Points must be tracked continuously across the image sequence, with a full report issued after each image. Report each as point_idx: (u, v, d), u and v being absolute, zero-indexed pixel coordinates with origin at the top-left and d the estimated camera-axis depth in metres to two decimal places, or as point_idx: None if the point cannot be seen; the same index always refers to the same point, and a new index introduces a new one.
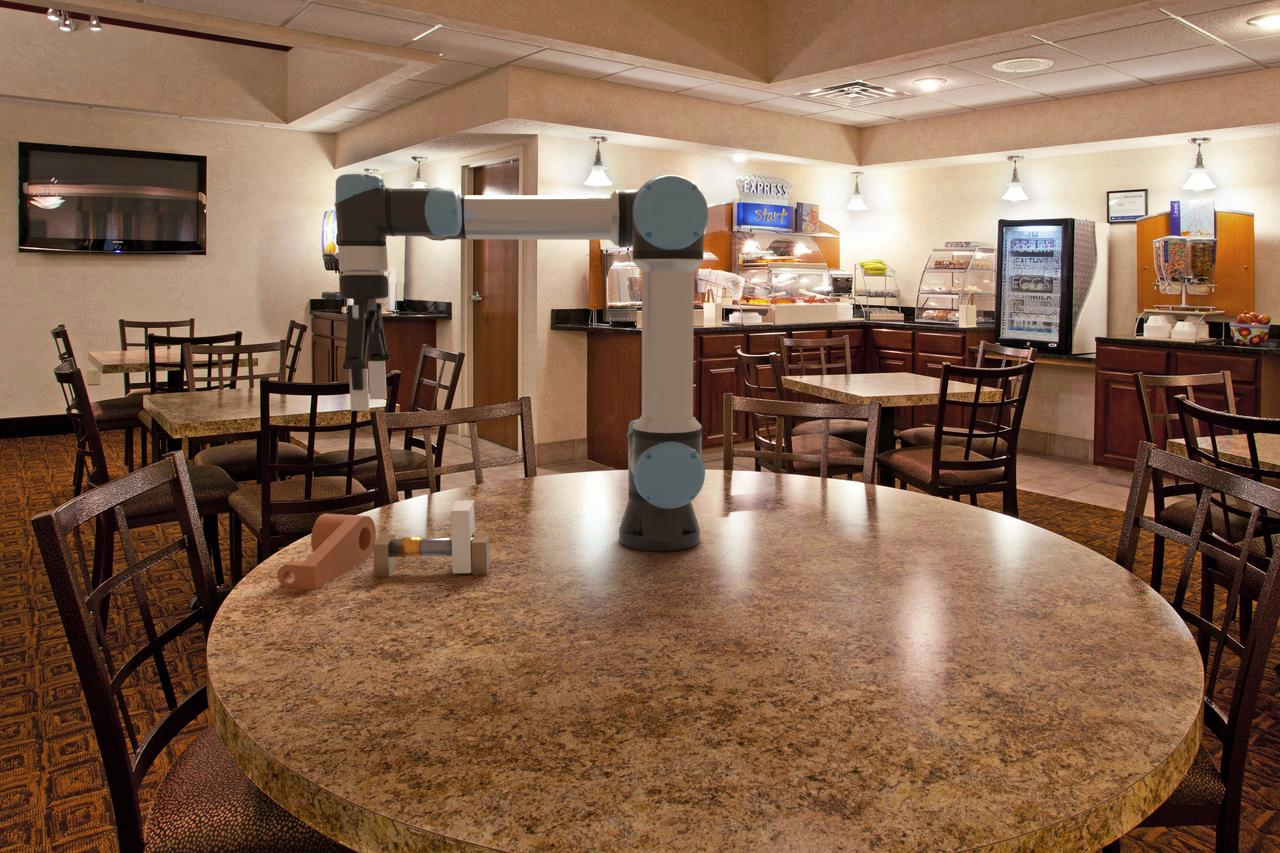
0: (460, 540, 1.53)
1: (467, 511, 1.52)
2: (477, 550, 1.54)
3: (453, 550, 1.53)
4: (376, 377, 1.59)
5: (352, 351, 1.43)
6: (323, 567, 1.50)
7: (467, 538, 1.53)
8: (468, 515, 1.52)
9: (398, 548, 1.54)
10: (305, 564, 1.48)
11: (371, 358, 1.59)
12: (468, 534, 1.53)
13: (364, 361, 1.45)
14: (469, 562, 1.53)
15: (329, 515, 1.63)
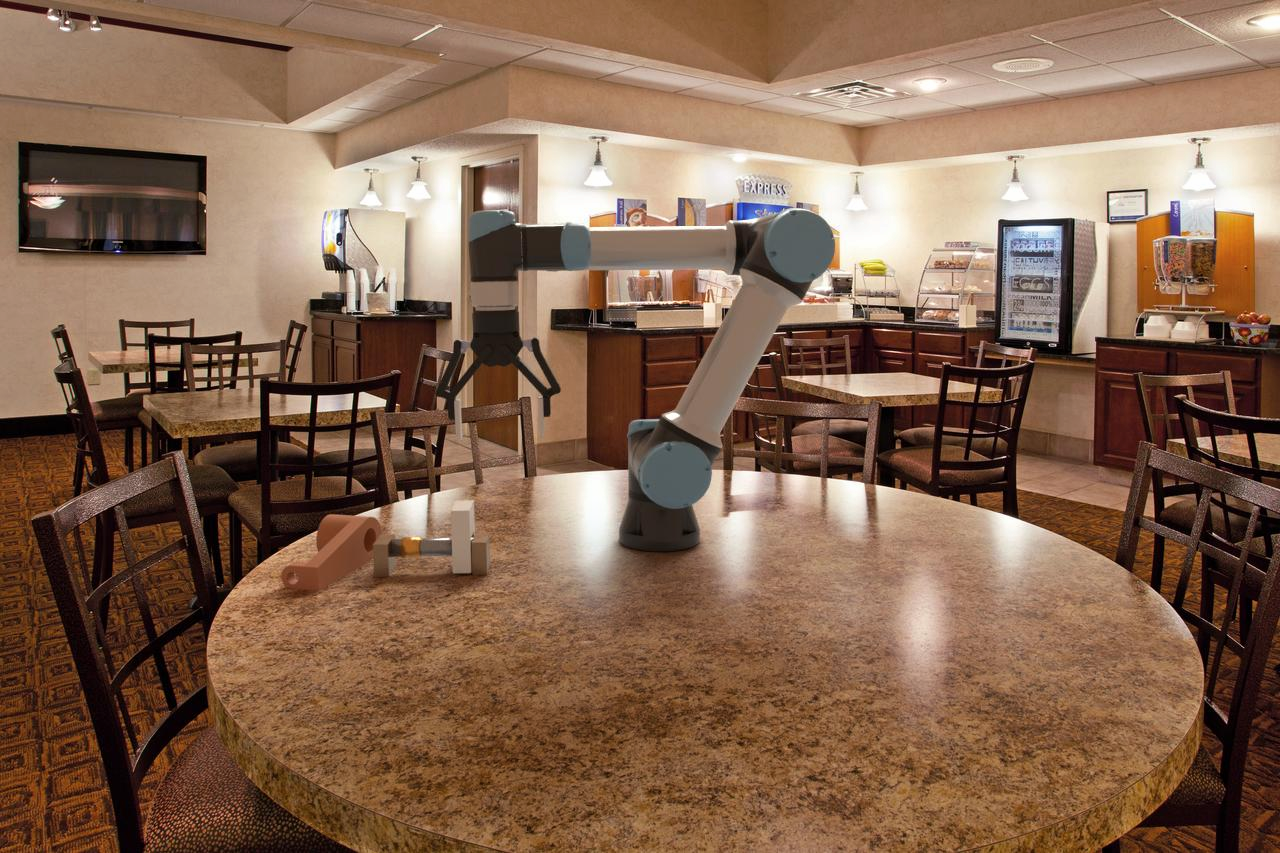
0: (460, 540, 1.53)
1: (467, 511, 1.52)
2: (477, 550, 1.54)
3: (453, 550, 1.53)
4: None
5: None
6: (327, 569, 1.49)
7: (467, 538, 1.53)
8: (468, 515, 1.52)
9: (398, 548, 1.54)
10: (308, 565, 1.47)
11: None
12: (468, 534, 1.53)
13: (451, 393, 1.51)
14: (469, 562, 1.53)
15: (335, 516, 1.62)
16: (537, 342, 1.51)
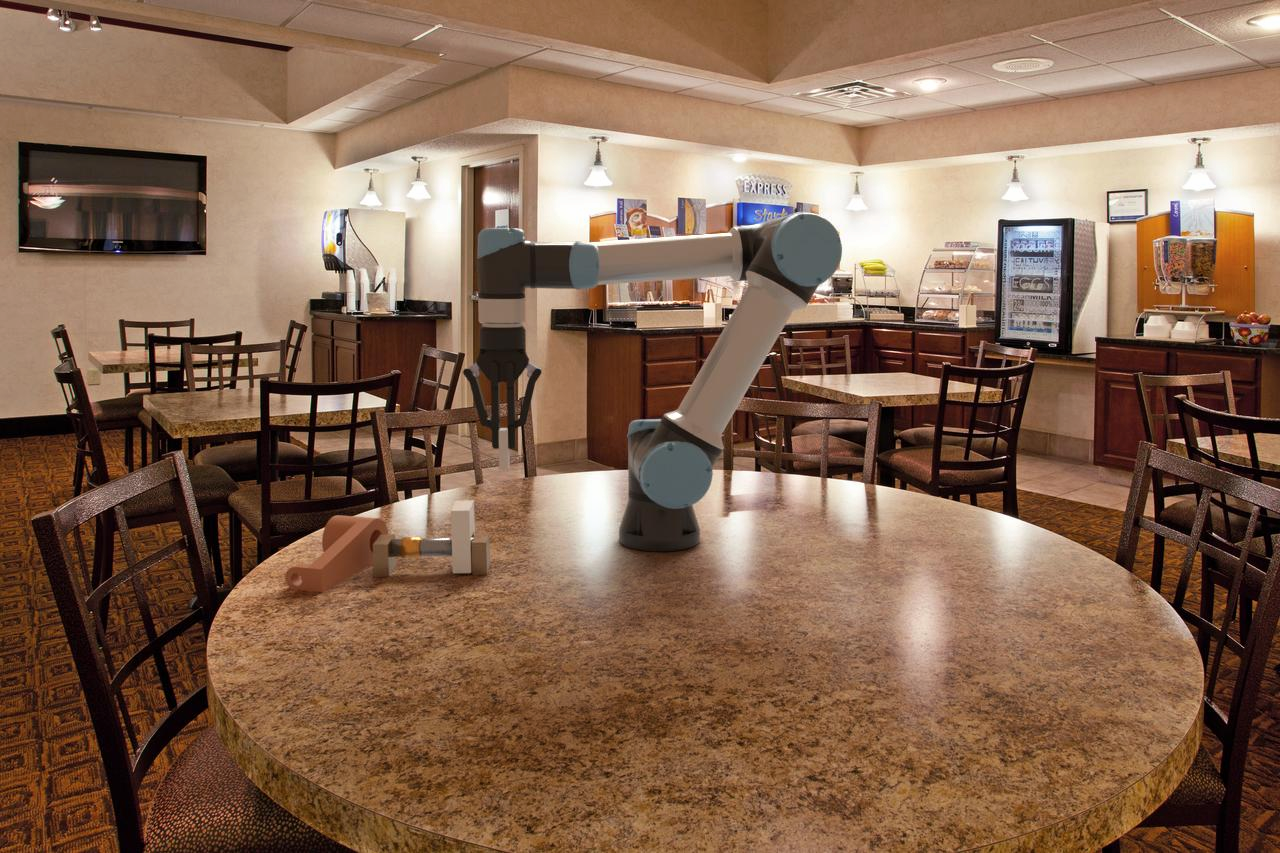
0: (460, 540, 1.53)
1: (467, 511, 1.52)
2: (477, 550, 1.54)
3: (453, 550, 1.53)
4: None
5: None
6: (331, 570, 1.48)
7: (467, 538, 1.53)
8: (468, 515, 1.52)
9: (398, 548, 1.54)
10: (312, 566, 1.46)
11: None
12: (468, 534, 1.53)
13: (493, 422, 1.52)
14: (469, 562, 1.53)
15: (341, 517, 1.61)
16: (539, 374, 1.52)
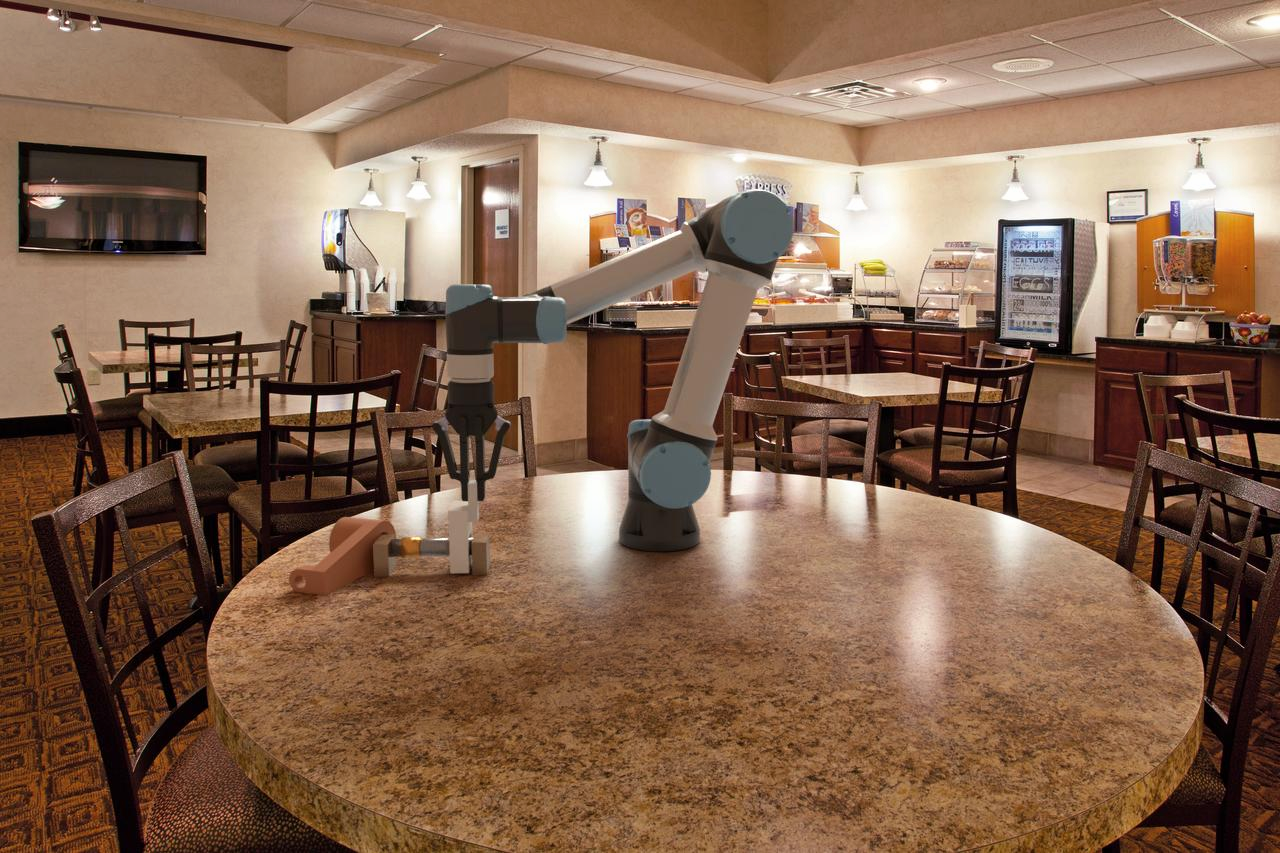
0: (458, 540, 1.53)
1: (465, 511, 1.52)
2: (477, 550, 1.54)
3: (451, 550, 1.53)
4: None
5: None
6: (334, 573, 1.47)
7: (465, 538, 1.53)
8: (466, 515, 1.52)
9: (398, 548, 1.54)
10: (316, 569, 1.45)
11: None
12: (466, 534, 1.53)
13: (462, 476, 1.53)
14: (467, 562, 1.53)
15: (348, 519, 1.60)
16: (507, 428, 1.53)
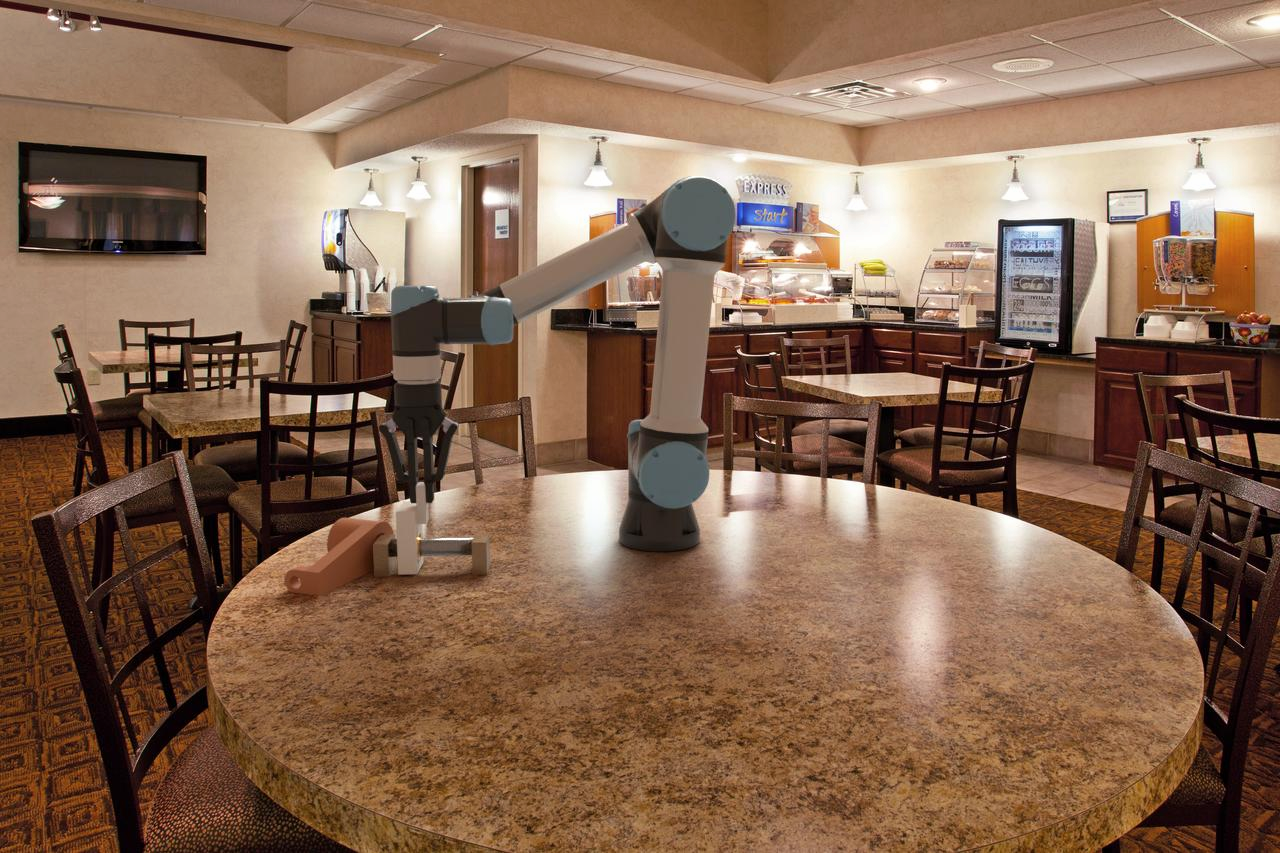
0: (405, 541, 1.52)
1: (412, 512, 1.51)
2: (477, 550, 1.54)
3: (398, 551, 1.52)
4: None
5: None
6: (330, 574, 1.46)
7: (412, 539, 1.52)
8: (413, 516, 1.52)
9: None
10: (311, 569, 1.45)
11: None
12: (413, 535, 1.52)
13: (410, 478, 1.53)
14: (415, 563, 1.53)
15: (347, 519, 1.60)
16: (455, 429, 1.52)
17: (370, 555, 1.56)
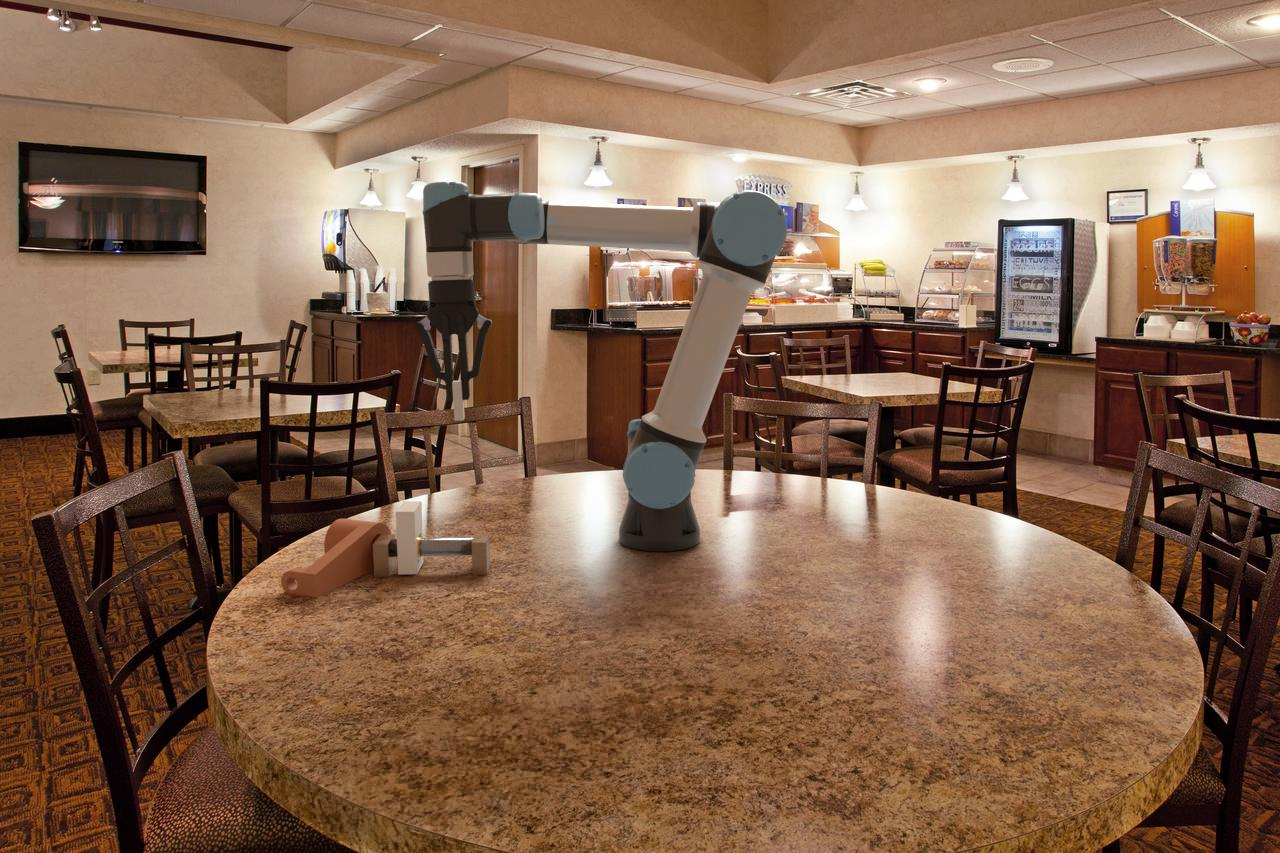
0: (405, 541, 1.52)
1: (412, 512, 1.51)
2: (477, 550, 1.54)
3: (398, 551, 1.52)
4: None
5: None
6: (326, 575, 1.46)
7: (412, 539, 1.52)
8: (413, 516, 1.52)
9: None
10: (307, 571, 1.44)
11: None
12: (413, 535, 1.52)
13: (447, 375, 1.56)
14: (415, 563, 1.53)
15: (344, 520, 1.59)
16: (489, 325, 1.55)
17: (367, 556, 1.55)
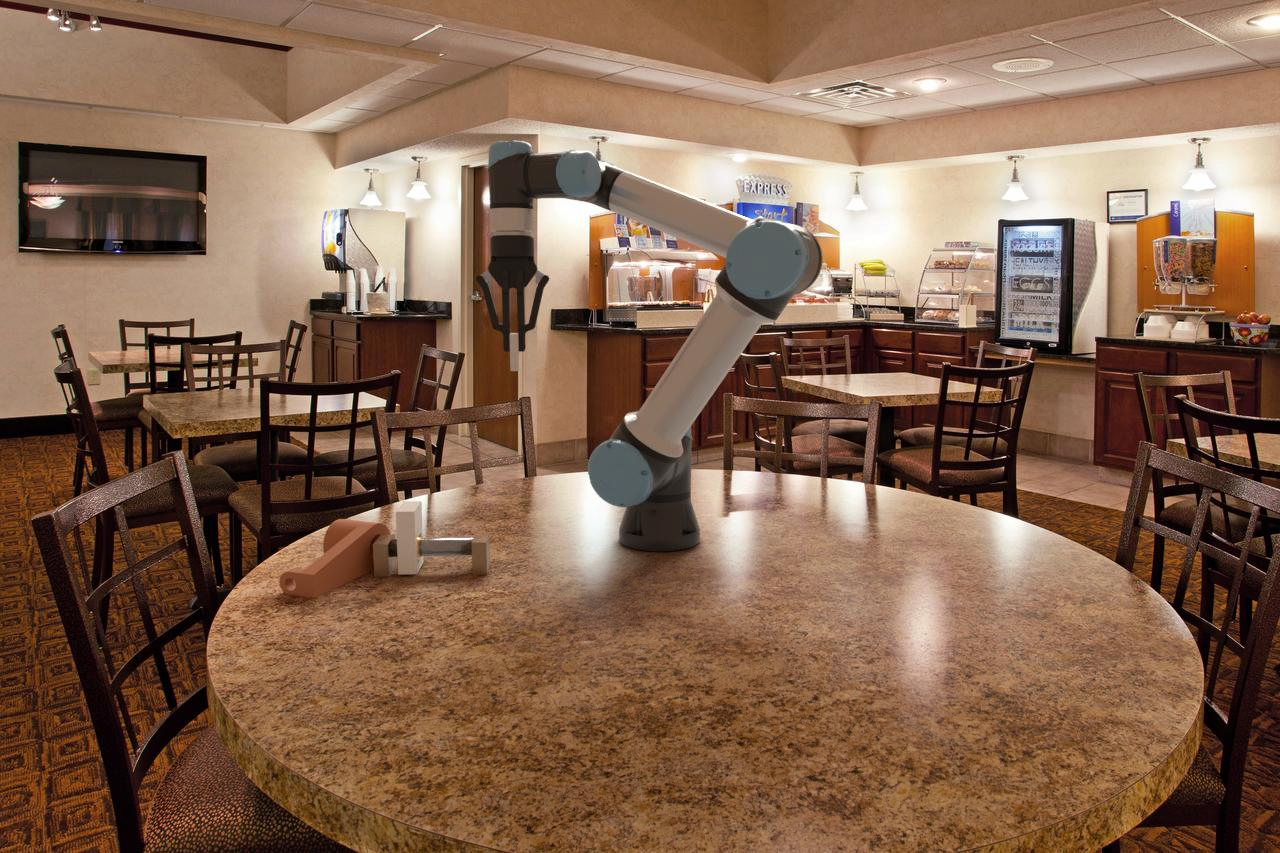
0: (405, 541, 1.52)
1: (412, 512, 1.51)
2: (477, 550, 1.54)
3: (398, 551, 1.52)
4: None
5: None
6: (325, 576, 1.45)
7: (412, 539, 1.52)
8: (413, 516, 1.52)
9: None
10: (306, 571, 1.44)
11: None
12: (413, 535, 1.52)
13: (504, 326, 1.63)
14: (415, 563, 1.53)
15: (343, 521, 1.59)
16: (546, 280, 1.62)
17: (366, 557, 1.55)
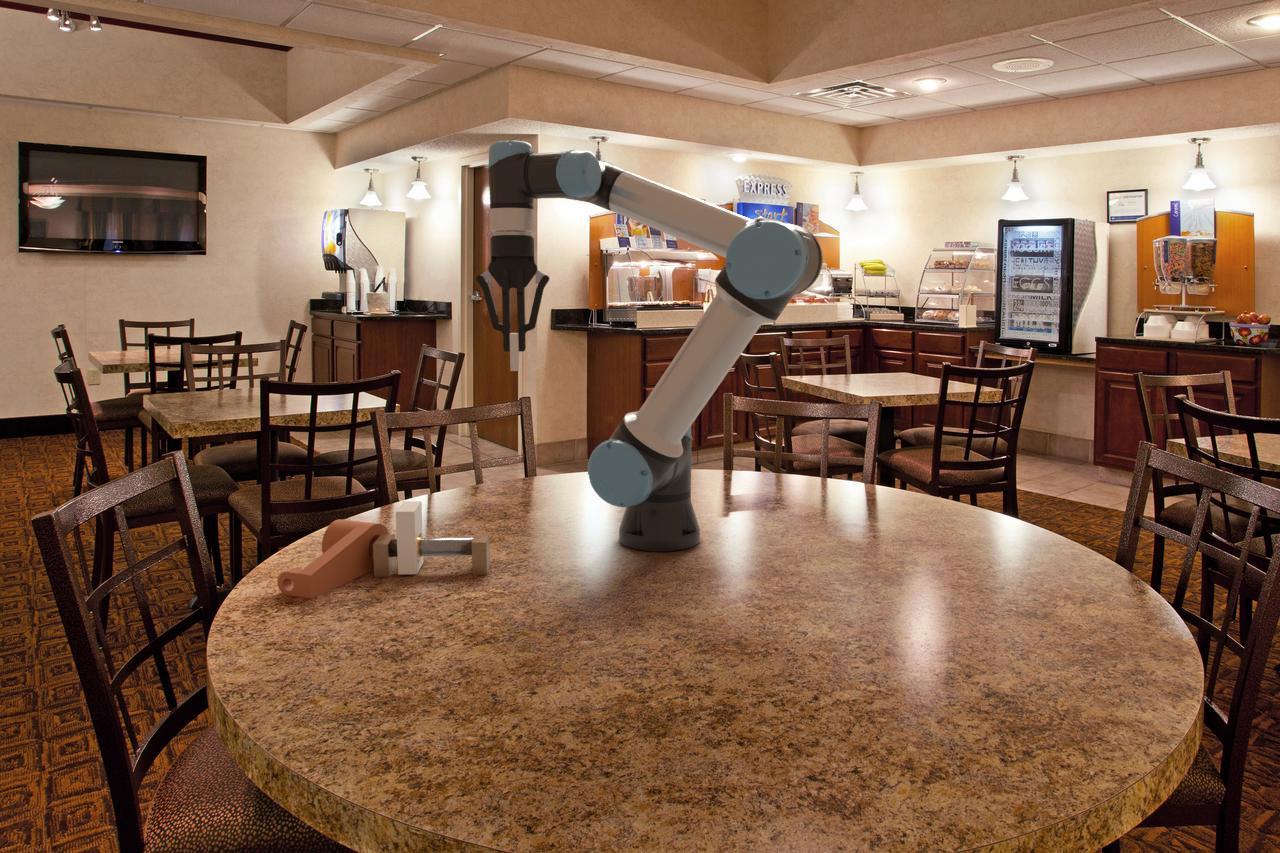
0: (405, 541, 1.52)
1: (412, 512, 1.51)
2: (477, 550, 1.54)
3: (398, 551, 1.52)
4: None
5: None
6: (323, 576, 1.45)
7: (412, 539, 1.52)
8: (413, 516, 1.52)
9: None
10: (303, 572, 1.44)
11: None
12: (413, 535, 1.52)
13: (505, 326, 1.63)
14: (415, 563, 1.53)
15: (342, 521, 1.59)
16: (547, 280, 1.62)
17: (365, 557, 1.55)
